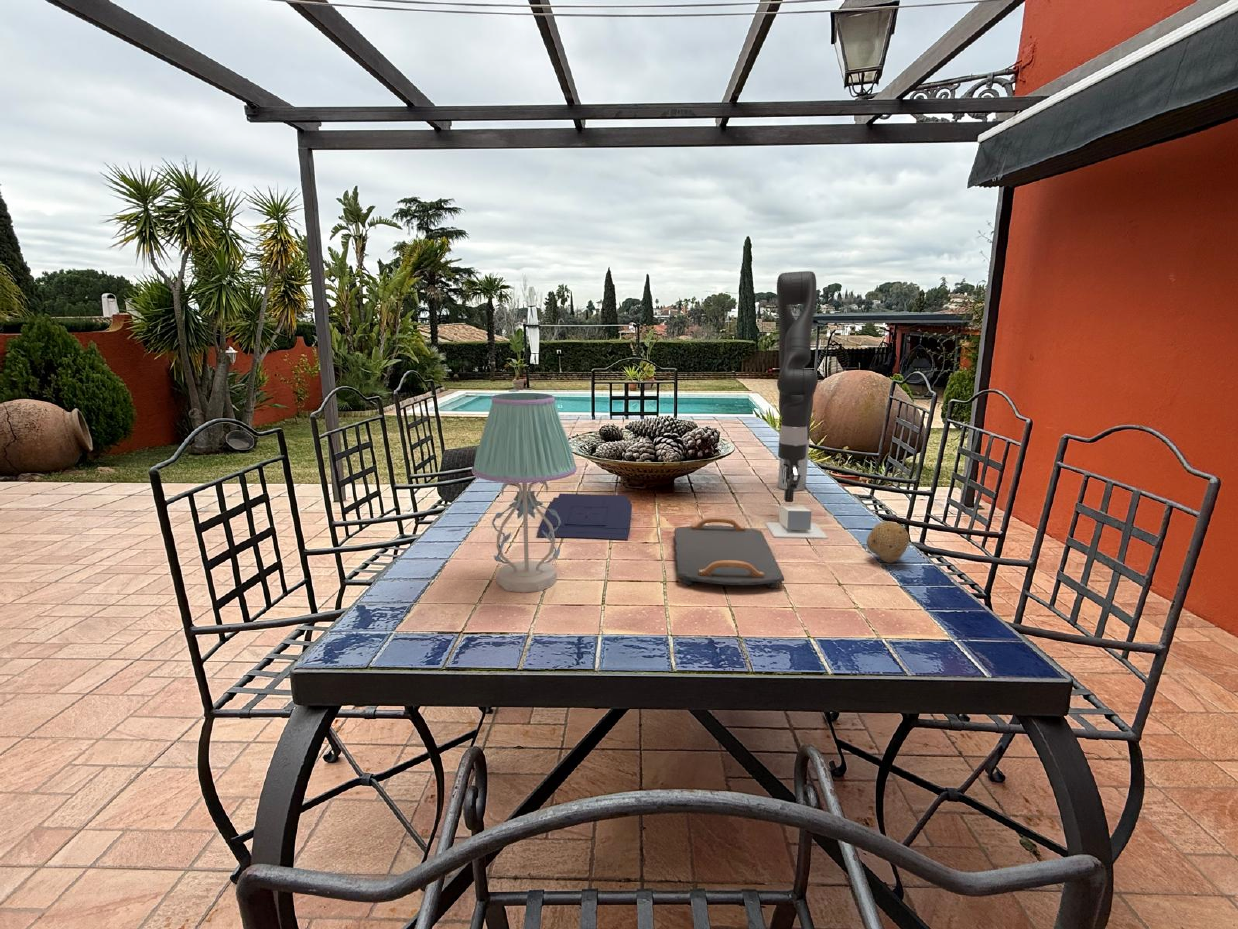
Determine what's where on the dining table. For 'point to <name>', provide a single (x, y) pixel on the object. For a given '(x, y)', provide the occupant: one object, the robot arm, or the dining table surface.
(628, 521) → the dark blue flat slab
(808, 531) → the mat
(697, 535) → the serving board
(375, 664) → the dining table surface
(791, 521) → the block
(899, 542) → the potato
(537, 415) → the table lamp
